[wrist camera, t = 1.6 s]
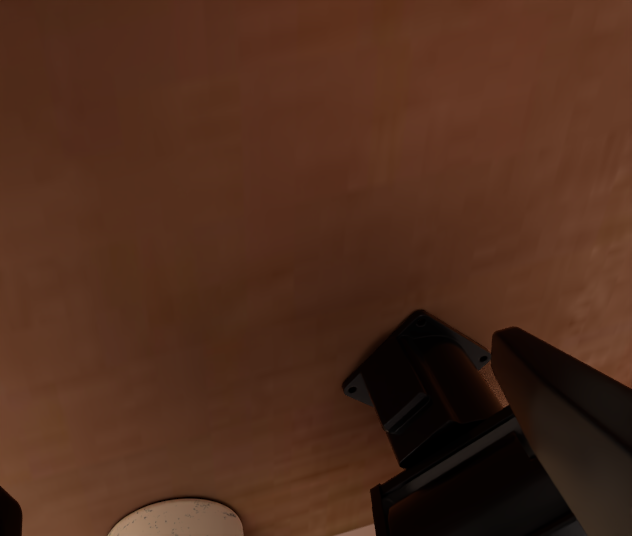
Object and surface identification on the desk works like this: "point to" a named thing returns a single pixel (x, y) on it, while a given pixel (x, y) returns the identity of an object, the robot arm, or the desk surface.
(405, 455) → the robot arm
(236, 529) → the teacup with lid
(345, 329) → the desk surface
